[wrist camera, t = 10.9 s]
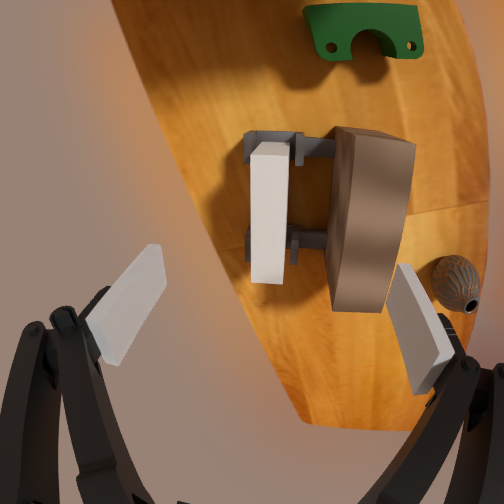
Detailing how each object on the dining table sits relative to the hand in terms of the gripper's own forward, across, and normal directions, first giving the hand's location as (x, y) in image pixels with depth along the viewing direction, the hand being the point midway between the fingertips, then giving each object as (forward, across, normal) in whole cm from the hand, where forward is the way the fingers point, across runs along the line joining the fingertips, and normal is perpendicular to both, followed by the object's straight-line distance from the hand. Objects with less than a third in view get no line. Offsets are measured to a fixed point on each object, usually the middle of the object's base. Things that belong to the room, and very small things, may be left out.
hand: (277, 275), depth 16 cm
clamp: (+20, +7, +18) cm, 28 cm away
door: (+19, -1, -2) cm, 19 cm away
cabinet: (+19, +3, -1) cm, 20 cm away
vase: (+20, +24, -10) cm, 32 cm away
